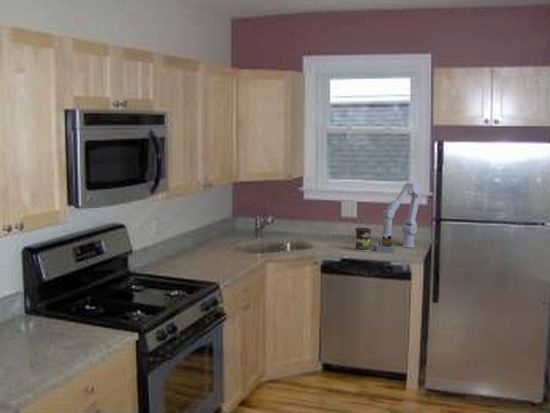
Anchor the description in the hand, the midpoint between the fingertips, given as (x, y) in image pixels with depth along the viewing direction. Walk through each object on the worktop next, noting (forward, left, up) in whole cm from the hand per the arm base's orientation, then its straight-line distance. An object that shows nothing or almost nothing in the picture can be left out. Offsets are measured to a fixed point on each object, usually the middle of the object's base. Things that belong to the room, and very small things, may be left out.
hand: (386, 246), depth 421 cm
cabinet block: (+3, 0, 0) cm, 3 cm away
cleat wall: (+4, -1, -1) cm, 4 cm away
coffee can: (+10, -15, -1) cm, 18 cm away
